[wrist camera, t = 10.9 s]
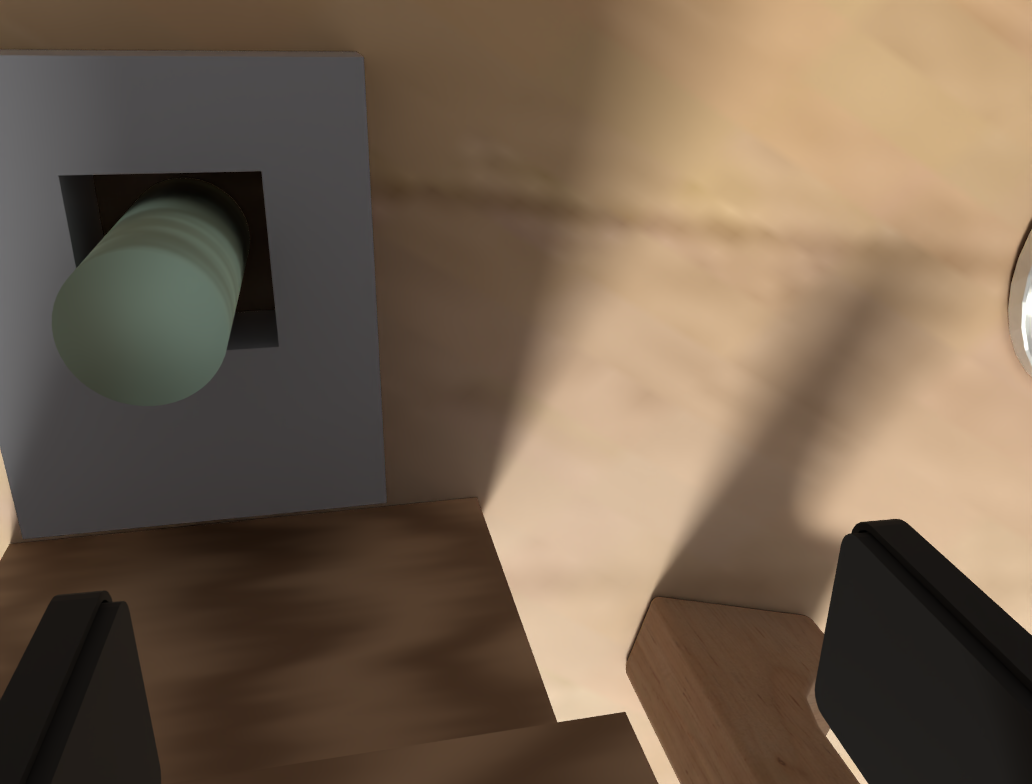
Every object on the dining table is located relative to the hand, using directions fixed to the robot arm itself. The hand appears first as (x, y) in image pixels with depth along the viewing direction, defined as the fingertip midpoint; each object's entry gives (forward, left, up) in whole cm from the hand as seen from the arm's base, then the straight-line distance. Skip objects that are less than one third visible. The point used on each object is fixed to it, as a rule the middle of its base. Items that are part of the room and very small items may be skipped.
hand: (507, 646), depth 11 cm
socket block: (+6, +1, -23) cm, 24 cm away
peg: (+6, 0, -23) cm, 24 cm away
